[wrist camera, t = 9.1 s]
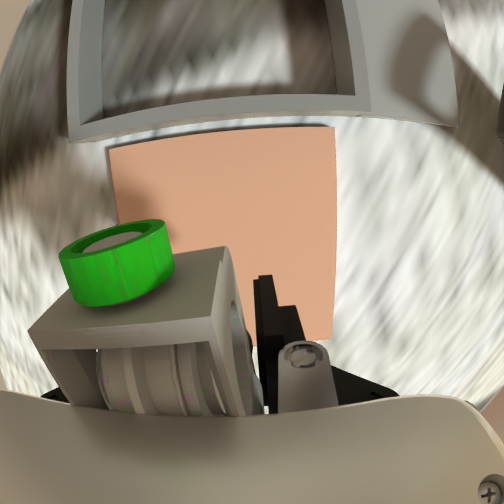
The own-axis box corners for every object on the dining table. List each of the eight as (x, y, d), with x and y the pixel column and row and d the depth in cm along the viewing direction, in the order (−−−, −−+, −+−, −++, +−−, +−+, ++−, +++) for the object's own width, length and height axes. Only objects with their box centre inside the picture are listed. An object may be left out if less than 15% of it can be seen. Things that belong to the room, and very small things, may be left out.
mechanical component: (213, 369, 16) (200, 539, 6) (165, 181, 12) (-4, 280, 3) (266, 362, 16) (286, 536, 6) (233, 168, 12) (207, 240, 3)
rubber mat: (331, 127, 16) (334, 126, 15) (329, 333, 20) (331, 338, 20) (113, 148, 16) (108, 149, 15) (152, 344, 21) (150, 349, 20)
